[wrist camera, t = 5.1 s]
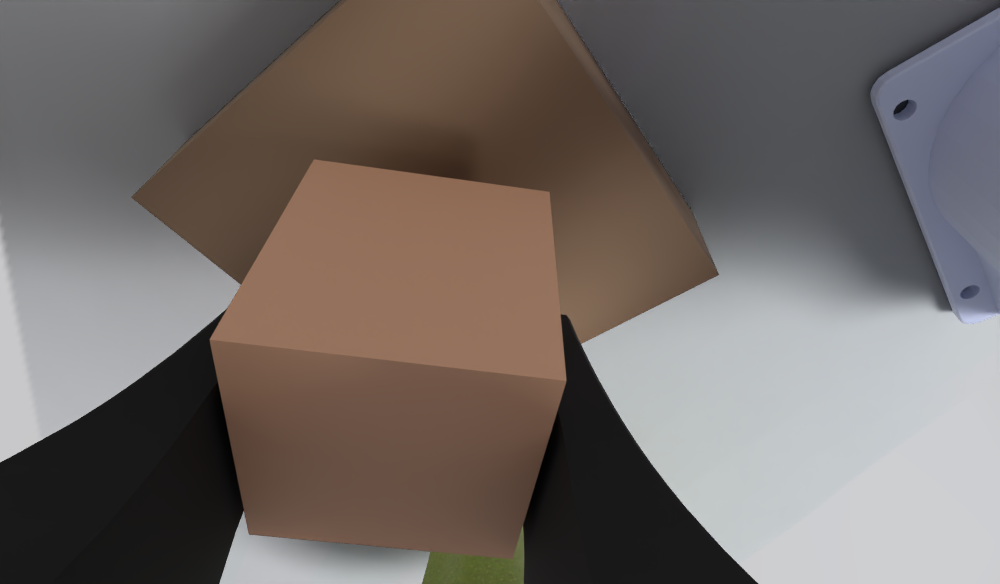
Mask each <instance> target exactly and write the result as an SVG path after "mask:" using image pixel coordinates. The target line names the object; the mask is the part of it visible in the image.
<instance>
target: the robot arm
mask: <svg viewBox="0 0 1000 584" xmlns="http://www.w3.org/2000/svg"><path fill="white" fill-rule="evenodd" d="M870 95H871V101H872V104H873V107H874V109H875V112H876V114H877V117H878V119H879V122H880V125H881V127H882V130H883V132H884V135H885V138H886V140H887V143H888V145H889V148H890V150H891V153H892V156H893V158H894V161H895V163H896V166H897V168H898V171H899V174H900V176H901V179H902V181H903V184H904V187H905V189H906V192H907V194H908V197H909V199H910V202H911V205H912V207H913V210H914V212H915V215H916V217H917V220H918V223H919V225H920V228H921V230H922V233H923V236H924V238H925V241H926V243H927V246H928V248H929V251H930V254H931V256H932V259H933V261H934V264H935V267H936V269H937V272H938V274H939V277H940V279H941V282H942V285H943V287H944V290H945V292H946V295H947V297H948V300H949V303H950V305H951V308H952V310H953V313H954V314H955V315H956V316H957V317H958V319H959V320H960V321H961V322H963V323H966V324H974V323H978V322H981V321H984V320H986V319H989V318H991V317H994V316H996V315H999V314H1000V7H999V8H998V9H996V10H994V11H992V12H991V13H989V14H987V15H985V16H984V17H982V18H980V19H978V20H977V21H975V22H973V23H971V24H970V25H968V26H966V27H964V28H963V29H961V30H959V31H957V32H956V33H954V34H952V35H950V36H949V37H947V38H945V39H943V40H942V41H940V42H938V43H936V44H935V45H933V46H931V47H929V48H928V49H926V50H924V51H922V52H921V53H919V54H917V55H915V56H914V57H912V58H910V59H908V60H907V61H905V62H903V63H901V64H900V65H898V66H896V67H894V68H893V69H891V70H889V71H887V72H886V73H885V74H883V75H882V76H881V77H879V78H878V80H877V81H876V82H875V84H874V85H873V87H872V90H871V93H870ZM905 100H909V103H908V105H907V106H906V108H905V109H904V110H903V111H901V112H900V113H897V114H893V111H894V109H895V108H896V106H897V105H898V104H899V103H901V102H902V101H905ZM968 286H969V287H968ZM966 287H968V288H966ZM965 288H966V289H965ZM963 289H965V290H963ZM226 310H227V309H226ZM226 310H225V311H224V312H223V313H221V314H220V315H219V316H218V317H217V318H216V319H215V320H213V321H212V322H211V323H210V324H209V325H207V326H206V327H205V328H204V329H203V330H201V331H200V332H199V333H198V334H197V335H195V336H194V337H193V338H192V339H190V340H189V341H188V342H187V343H186V344H184V345H183V346H182V347H181V348H179V349H178V350H177V351H176V352H174V353H173V354H172V355H171V356H169V357H168V358H167V359H165V360H164V361H162V362H161V363H160V364H158V365H157V366H156V367H154V368H153V369H152V370H150V371H149V372H148V373H146V374H145V375H144V376H142V377H141V378H140V379H138V380H137V381H136V382H134V383H133V384H131V385H130V386H129V387H127V388H126V389H124V390H123V391H121V392H120V393H118V394H117V395H115V396H114V397H112V398H111V399H109V400H108V401H106V402H105V403H103V404H102V405H100V406H99V407H97V408H95V409H94V410H92V411H91V412H89V413H88V414H86V415H84V416H83V417H81V418H80V419H78V420H76V421H75V422H73V423H71V424H70V425H68V426H66V427H64V428H62V429H61V430H59V431H57V432H55V433H53V434H52V435H50V436H48V437H46V438H44V439H43V440H41V441H39V442H37V443H35V444H34V445H32V446H30V447H28V448H26V449H24V450H23V451H21V452H19V453H17V454H16V455H14V456H12V457H10V458H8V459H6V460H4V461H2V462H0V584H219V583H220V579H221V576H222V573H223V570H224V567H225V564H226V561H227V557H228V554H229V551H230V548H231V545H232V542H233V539H234V535H235V532H236V530H237V527H238V524H239V522H240V519H241V517H242V514H243V511H244V508H243V503H242V498H241V493H240V488H239V483H238V478H237V473H236V468H235V463H234V458H233V453H232V448H231V444H230V439H229V434H228V429H227V424H226V419H225V414H224V409H223V404H222V399H221V394H220V389H219V384H218V379H217V374H216V369H215V364H214V360H213V355H212V350H211V345H210V338H211V336H212V334H213V333H214V331H215V329H216V327H217V326H218V324H219V322H220V321H221V319H222V317H223V315H224V314H225V312H226ZM561 325H562V336H563V347H564V358H565V370H566V384H565V388H564V391H563V394H562V397H561V401H560V404H559V407H558V411H557V414H556V417H555V421H554V424H553V427H552V431H551V434H550V437H549V440H548V444H547V447H546V450H545V454H544V457H543V460H542V464H541V467H540V470H539V473H538V477H537V480H536V483H535V487H534V490H533V493H532V497H531V500H530V503H529V507H528V510H527V513H526V516H525V520H524V523H523V533H524V584H758V583H757V582H756V581H755V580H754V579H753V578H752V577H751V576H750V575H749V574H747V572H745V570H744V569H742V567H741V566H740V565H739V564H738V563H737V562H736V561H735V560H734V559H733V558H732V557H731V556H730V555H729V554H728V553H727V552H725V550H724V549H723V548H722V547H721V546H720V545H719V544H718V543H717V542H716V541H715V539H714V538H713V537H712V536H711V535H710V534H709V533H708V532H707V531H706V530H705V528H704V527H703V526H702V525H701V524H700V523H699V522H698V521H697V520H696V518H695V517H694V516H693V515H692V514H691V513H690V512H689V511H688V510H687V508H686V507H685V506H684V505H683V504H682V502H681V501H680V500H679V499H678V497H677V496H676V495H675V494H674V492H673V491H672V490H671V489H670V488H669V486H668V485H667V484H666V483H665V481H664V480H663V479H662V477H661V476H660V475H659V473H658V472H657V471H656V469H655V468H654V467H653V465H652V464H651V463H650V461H649V460H648V458H647V457H646V456H645V454H644V453H643V451H642V450H641V448H640V447H639V445H638V444H637V443H636V441H635V440H634V438H633V436H632V435H631V433H630V432H629V430H628V429H627V427H626V426H625V424H624V422H623V421H622V419H621V418H620V416H619V414H618V413H617V411H616V409H615V408H614V406H613V404H612V403H611V401H610V399H609V397H608V395H607V394H606V392H605V390H604V388H603V387H602V385H601V383H600V381H599V379H598V378H597V376H596V374H595V372H594V370H593V368H592V366H591V364H590V362H589V360H588V358H587V356H586V354H585V352H584V350H583V348H582V345H581V343H580V341H579V339H578V337H577V334H576V332H575V330H574V328H573V325H572V323H571V320H570V319H569V318H568V316H567V315H563V314H561Z"/></svg>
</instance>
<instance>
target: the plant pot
mask: <svg viewBox="0 0 1000 584" xmlns="http://www.w3.org/2000/svg"><path fill="white" fill-rule="evenodd" d="M422 584H524V533H523V526H522V530H521V533H520V536H519V540H518V543H517V546H516V550H515V553H514V556H513V559H506V558H495V557H484V556H474V555H463V554H452V553H442V552H430V556H429V560H428V564H427V568H426V571H425V575H424V579H423V582H422Z"/></svg>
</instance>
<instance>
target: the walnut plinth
mask: <svg viewBox="0 0 1000 584" xmlns="http://www.w3.org/2000/svg"><path fill="white" fill-rule="evenodd" d="M314 159H315V160H322V161H329V162H337V163H344V164H351V165H358V166H366V167H373V168H380V169H387V170H395V171H402V172H409V173H416V174H424V175H431V176H438V177H445V178H453V179H460V180H467V181H474V182H482V183H489V184H496V185H503V186H511V187H518V188H525V189H532V190H540V191H547V192H550V203H551V214H552V225H553V236H554V247H555V258H556V269H557V280H558V292H559V303H560V314H563V315H567V316H568V318H569V319H570V320H571V323H572V325H573V328H574V330H575V332H576V334H577V337H578V339H579V341H580V343H581V344H582V343H584V342H586V341H588V340H590V339H592V338H594V337H596V336H598V335H600V334H602V333H604V332H606V331H608V330H610V329H612V328H614V327H616V326H618V325H620V324H622V323H624V322H626V321H628V320H630V319H632V318H634V317H636V316H638V315H640V314H642V313H644V312H646V311H648V310H650V309H652V308H654V307H656V306H658V305H660V304H662V303H664V302H666V301H668V300H670V299H672V298H674V297H676V296H678V295H680V294H682V293H684V292H686V291H688V290H690V289H692V288H694V287H696V286H698V285H700V284H702V283H704V282H706V281H708V280H710V279H712V278H714V277H716V276H718V275H719V274H718V271H717V269H716V267H715V264H714V262H713V260H712V257H711V255H710V253H709V250H708V248H707V246H706V243H705V241H704V239H703V236H702V234H701V232H700V229H699V227H698V225H697V222H696V220H695V218H694V215H693V213H692V211H691V209H690V208H689V206H688V205H687V203H686V202H685V200H684V199H683V197H682V195H681V194H680V192H679V191H678V189H677V188H676V186H675V184H674V183H673V181H672V180H671V178H670V177H669V175H668V174H667V172H666V170H665V169H664V167H663V166H662V164H661V163H660V161H659V159H658V158H657V156H656V155H655V153H654V152H653V150H652V149H651V147H650V145H649V144H648V142H647V141H646V139H645V138H644V136H643V134H642V133H641V131H640V130H639V128H638V127H637V125H636V124H635V122H634V120H633V119H632V117H631V116H630V114H629V113H628V111H627V109H626V108H625V106H624V105H623V103H622V102H621V100H620V99H619V97H618V95H617V94H616V92H615V91H614V89H613V88H612V86H611V84H610V83H609V81H608V80H607V78H606V77H605V75H604V74H603V72H602V70H601V69H600V67H599V66H598V64H597V63H596V61H595V59H594V58H593V56H592V55H591V53H590V52H589V50H588V49H587V47H586V45H585V44H584V42H583V41H582V39H581V38H580V36H579V34H578V33H577V31H576V30H575V28H574V27H573V25H572V24H571V22H570V20H569V19H568V17H567V16H566V14H565V13H564V11H563V9H562V8H561V6H560V5H559V3H558V2H557V0H340V1H339V2H338V3H337V4H335V5H334V6H333V7H332V8H331V9H330V10H329V11H328V12H327V13H326V14H325V15H323V16H322V17H321V18H320V19H319V20H318V21H317V22H316V23H315V24H314V25H313V26H312V27H310V28H309V29H308V30H307V31H306V32H305V33H304V34H303V35H302V36H301V37H300V38H298V39H297V40H296V41H295V42H294V43H293V44H292V45H291V46H290V47H289V48H288V49H286V50H285V51H284V52H283V53H282V54H281V55H280V56H279V57H278V58H277V59H276V60H275V61H273V62H272V63H271V64H270V65H269V66H268V67H267V68H266V69H265V70H264V71H263V72H261V73H260V74H259V75H258V76H257V77H256V78H255V79H254V80H253V81H252V82H251V83H250V84H248V85H247V86H246V87H245V88H244V89H243V90H242V91H241V92H240V93H239V94H238V95H236V96H235V97H234V98H233V99H232V100H231V101H230V102H229V103H228V104H227V105H226V106H224V107H223V108H222V109H221V110H220V111H219V112H218V113H217V114H216V115H215V116H214V117H213V118H211V119H210V120H209V121H208V122H207V123H206V124H205V125H204V126H203V127H202V128H201V129H199V130H198V131H197V132H196V133H195V134H194V135H193V136H192V137H191V138H190V139H189V140H187V141H186V142H185V143H184V144H183V145H182V146H181V147H180V148H179V149H178V151H177V152H176V153H175V154H174V155H173V156H172V157H171V158H170V159H169V160H168V161H167V162H166V163H165V164H164V165H163V166H162V167H161V168H160V169H159V170H158V171H157V172H156V173H155V174H154V175H153V176H152V177H151V178H150V179H149V180H148V181H147V182H146V183H145V184H144V185H143V186H142V187H141V188H140V189H139V190H138V191H137V192H136V193H135V194H134V195H133V196H132V198H133V199H134V200H135V201H137V202H138V203H139V204H140V205H142V206H143V207H144V208H145V209H147V210H148V211H149V212H150V213H152V214H153V215H154V216H155V217H157V218H158V219H159V220H160V221H162V222H163V223H164V224H165V225H167V226H168V227H169V228H170V229H172V230H173V231H174V232H176V233H177V234H178V235H179V236H181V237H182V238H183V239H184V240H186V241H187V242H188V243H189V244H191V245H192V246H193V247H194V248H196V249H197V250H198V251H199V252H201V253H202V254H203V255H204V256H206V257H207V258H208V259H209V260H211V261H212V262H213V263H214V264H216V265H217V266H218V267H219V268H221V269H222V270H223V271H224V272H226V273H227V274H228V275H230V276H231V277H232V278H233V279H235V280H236V281H237V282H238V283H240V284H242V283H243V281H244V279H245V277H246V276H247V274H248V272H249V271H250V269H251V267H252V265H253V264H254V262H255V260H256V258H257V257H258V255H259V253H260V252H261V250H262V248H263V246H264V245H265V243H266V241H267V239H268V238H269V236H270V234H271V233H272V231H273V229H274V227H275V226H276V224H277V222H278V220H279V219H280V217H281V215H282V214H283V212H284V210H285V208H286V207H287V205H288V203H289V201H290V200H291V198H292V196H293V195H294V193H295V191H296V189H297V188H298V186H299V184H300V183H301V181H302V179H303V177H304V176H305V174H306V172H307V170H308V169H309V167H310V165H311V164H312V162H313V160H314Z"/></svg>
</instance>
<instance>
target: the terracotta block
mask: <svg viewBox="0 0 1000 584" xmlns="http://www.w3.org/2000/svg"><path fill="white" fill-rule="evenodd" d="M210 345H211V350H212V355H213V360H214V364H215V369H216V374H217V379H218V384H219V389H220V394H221V399H222V404H223V409H224V414H225V419H226V424H227V429H228V434H229V439H230V444H231V448H232V453H233V458H234V463H235V468H236V473H237V478H238V483H239V488H240V493H241V498H242V503H243V508H244V513H245V518H246V523H247V527H248V532H249V534H250V535H260V536H271V537H282V538H292V539H303V540H314V541H324V542H335V543H346V544H356V545H367V546H378V547H388V548H399V549H410V550H420V551H431V552H442V553H452V554H463V555H474V556H484V557H495V558H506V559H513V556H514V553H515V550H516V546H517V543H518V540H519V536H520V533H521V530H522V526H523V523H524V520H525V516H526V513H527V510H528V507H529V503H530V500H531V497H532V493H533V490H534V487H535V483H536V480H537V477H538V473H539V470H540V467H541V464H542V460H543V457H544V454H545V450H546V447H547V444H548V440H549V437H550V434H551V431H552V427H553V424H554V421H555V417H556V414H557V411H558V407H559V404H560V401H561V397H562V394H563V391H564V388H565V384H566V370H565V358H564V347H563V336H562V325H561V314H560V303H559V292H558V280H557V269H556V258H555V247H554V236H553V225H552V214H551V203H550V192H547V191H540V190H532V189H525V188H518V187H511V186H503V185H496V184H489V183H482V182H474V181H467V180H460V179H453V178H445V177H438V176H431V175H424V174H416V173H409V172H402V171H395V170H387V169H380V168H373V167H366V166H358V165H351V164H344V163H337V162H329V161H322V160H315V159H314V160H313V162H312V164H311V165H310V167H309V169H308V170H307V172H306V174H305V176H304V177H303V179H302V181H301V183H300V184H299V186H298V188H297V189H296V191H295V193H294V195H293V196H292V198H291V200H290V201H289V203H288V205H287V207H286V208H285V210H284V212H283V214H282V215H281V217H280V219H279V220H278V222H277V224H276V226H275V227H274V229H273V231H272V233H271V234H270V236H269V238H268V239H267V241H266V243H265V245H264V246H263V248H262V250H261V252H260V253H259V255H258V257H257V258H256V260H255V262H254V264H253V265H252V267H251V269H250V271H249V272H248V274H247V276H246V277H245V279H244V281H243V283H242V284H241V286H240V288H239V289H238V291H237V293H236V295H235V296H234V298H233V300H232V302H231V303H230V305H229V307H228V308H227V310H226V312H225V314H224V315H223V317H222V319H221V321H220V322H219V324H218V326H217V327H216V329H215V331H214V333H213V334H212V336H211V338H210Z"/></svg>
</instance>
